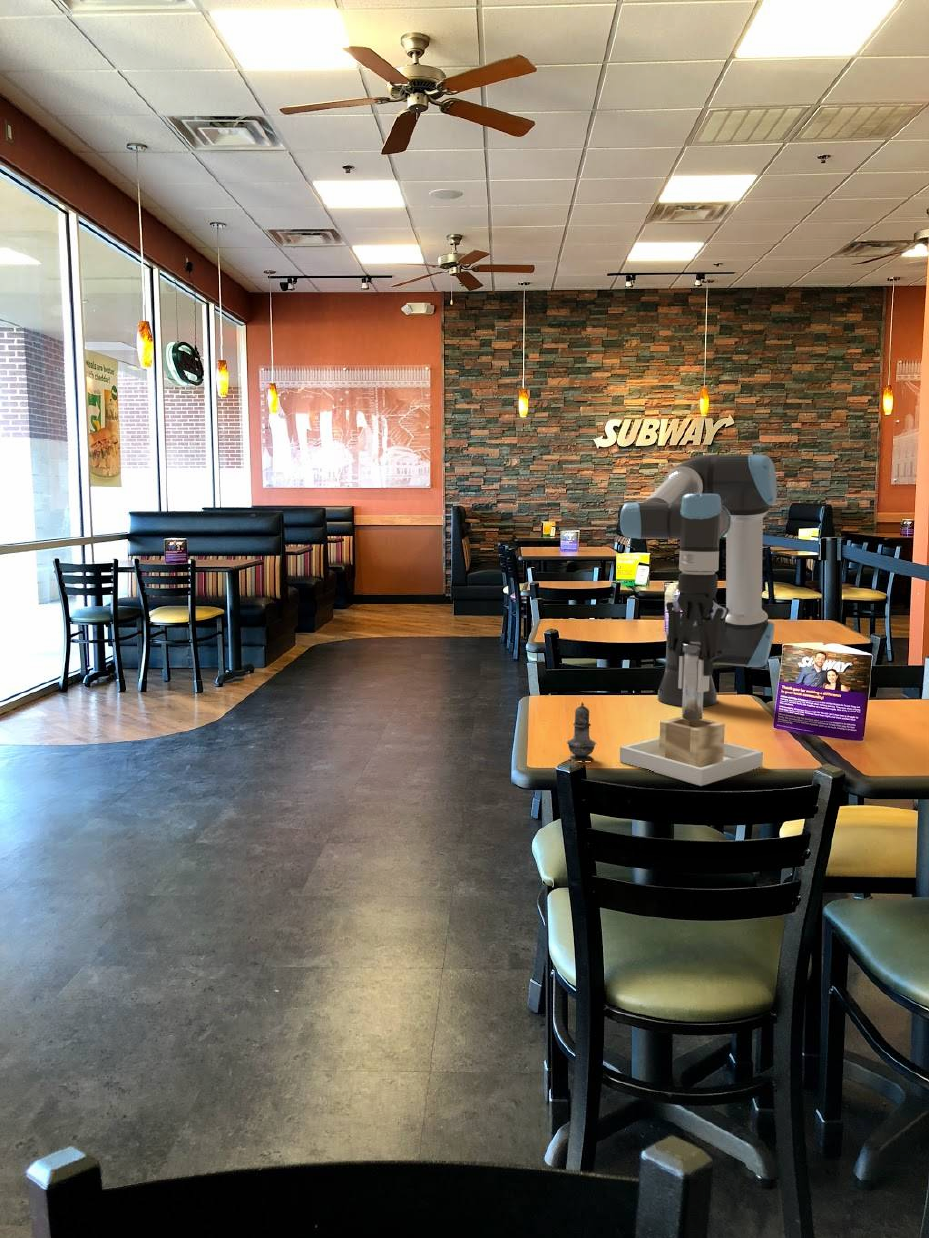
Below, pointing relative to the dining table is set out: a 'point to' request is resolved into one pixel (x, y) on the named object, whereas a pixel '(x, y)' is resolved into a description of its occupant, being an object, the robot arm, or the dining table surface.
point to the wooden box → (692, 741)
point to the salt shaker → (581, 736)
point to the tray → (732, 764)
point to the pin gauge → (691, 682)
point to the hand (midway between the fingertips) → (693, 689)
